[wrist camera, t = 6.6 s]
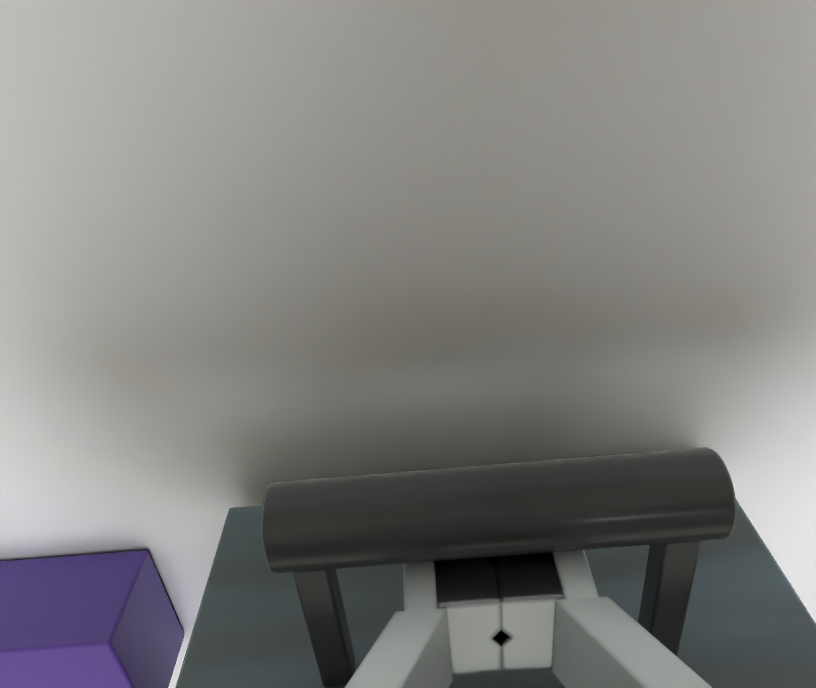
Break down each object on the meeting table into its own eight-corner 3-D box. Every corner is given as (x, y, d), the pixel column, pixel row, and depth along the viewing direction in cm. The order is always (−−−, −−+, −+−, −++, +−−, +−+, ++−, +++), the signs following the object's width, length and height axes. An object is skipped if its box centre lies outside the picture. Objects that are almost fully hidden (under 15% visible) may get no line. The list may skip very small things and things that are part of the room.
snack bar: (-106, 567, 19) (-186, 666, 16) (148, 548, 18) (108, 643, 16) (-44, 651, 21) (-106, 750, 18) (185, 634, 20) (155, 731, 18)
